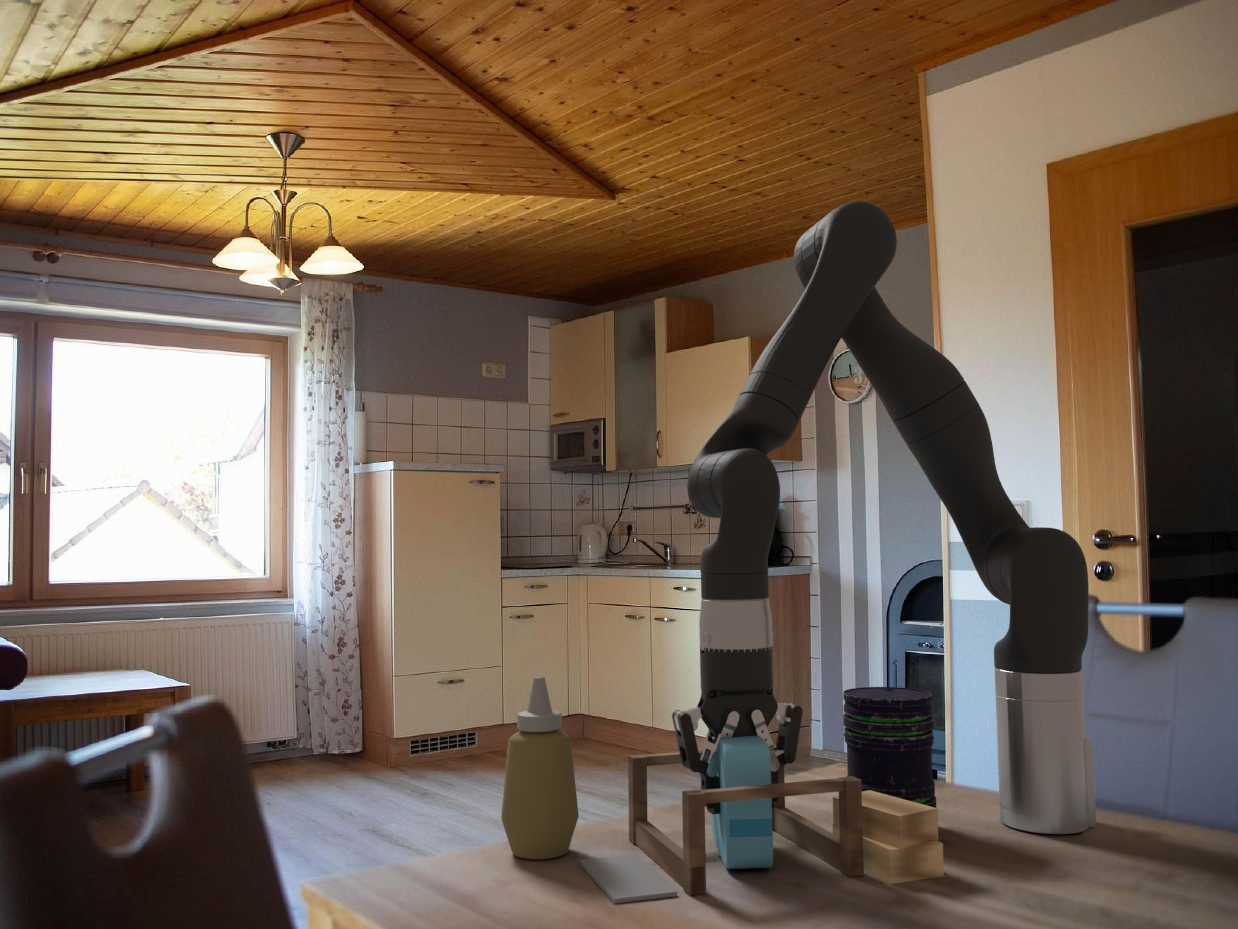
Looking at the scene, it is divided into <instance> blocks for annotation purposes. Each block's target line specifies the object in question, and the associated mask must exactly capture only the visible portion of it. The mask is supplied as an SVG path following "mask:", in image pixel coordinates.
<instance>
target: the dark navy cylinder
mask: <svg viewBox="0 0 1238 929" xmlns="http://www.w3.org/2000/svg"><path fill="white" fill-rule="evenodd" d="M842 696H843V700H844V704H843V713H844V714H843V715H842V720H843V721H842V725H843V726H844V733H843V736H844V742H845V743H846V758H847V759H846V760H847V762H846V763H847V766H846V767H847V776H846V777H851V776H853V777H856V778H858V779H860V780H861V791H868V790H871V791H875V792H878V793H882V794H886V795H890V796H893V797H897V798H901V799H904V800H908V801H912V802H915V803H919V804H923V805H927V806H930V807H934V808H937V797H936V786H935V785H936V784H935V780H934V778H933V763H932V760H933V758H932V747H933V745H934V739H935V737H934V731H933V729H934V727H935V726H934V717H933V707H932V704H931V703H932V702H933V697H932V696H933V695H932V692H930V691H927V690H923V689H917V688H909V687H897V686H895V687H894V686H867V687H866V686H865V687H855V688H854V687H853V688H848V689H845V690H844V691H843V694H842ZM937 809H938V808H937Z"/></svg>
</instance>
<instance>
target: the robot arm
mask: <svg viewBox="0 0 1238 929" xmlns="http://www.w3.org/2000/svg"><path fill="white" fill-rule="evenodd" d="M894 225H895V224H893V222H892V220H891V218H890V217H889V215H888V214H887V212H885V210H883V209H882V208H880V207H879V206H877V205H876V204H873V203H871V202H868V201H859V200H858V201H857V200H856V201H850V202H847V203H844V204H841V205H839V206H837V207H836V208H834V209H833V210H831V211H829V213H828V214H826V215H825V216H824V217H823V218H821V219H819V221H817V222H816V223H815V224H813V226H811V227H810V228H808V230H806V231H805V232H804V233H803V234H802V235H801V236H800V238H798V240H797V241H796V244H795V246H794V251H793V264H794V269H795V272H796V275H797V277H798V278H799V281H800V284H802V286H803V288H804V289H805V290H804V291H803V293H802V294H801V297H800V298H799V300H798V301H797V303H796V304H795V306H793V309H792V311H791V312H790V314H789V315H788V316H787V318H786V319H785V320H784V321H783V323H782V325H781V326H780V328H778V329H777V331H776V333H775V334H774V336H773V337H772V338H771V339H770V341H769V342H768V343H767V345H766V346H765V348H764V349H763V351H762V353H761V354H760V355H759V357H758V359H757V361H756V362H755V363H754V366H753V367H752V369H751V371H750V374H749V375H748V377H747V379H746V381H745V383H744V385H743V386H742V389H741V391H740V393H739V394H738V397H737V399H736V401H735V404H734V406H733V408H732V410H731V411H730V413H728V415H727V416H726V417H725V419H723V420H722V422H721V423H720V424H719V425H718V426H717V428H716V429H715V431H714V432H713V433H712V435H710V437H709V438H708V440H707V441H706V442H705V443H704V445H703V446H702V448H701V449H700V451H699V452H698V453H697V455H696V457H695V459H694V460H693V462H692V465H691V467H690V470H689V473H688V477H687V482H686V484H687V485H686V486H687V488H686V489H687V496H688V499H689V502H690V504H691V505H692V507H693V508H694V510H696V511H697V512H698V513H699V514H701V515H702V516H705V517H707V518H712V519H720V520H719V527H718V531H717V532H718V533H717V537H716V539H715V540H714V541H713V542H710V543H709V544H707V545H706V546H705V547H704V548H703V550H702V552H701V555H700V556H701V557H700V591H701V594H700V595H701V601H700V612H699V624H698V626H699V668H700V669H699V671H700V693H701V694H700V698H699V701H698V703H697V706H696V707H693V708H690V709H687V710H679V709H676V710H674V711H673V712H672V714H671V718H672V724H673V727H674V732H675V737H676V741H677V742H676V743H677V747H678V750H679V751H678V752H680V756H681V761H682V763H681V764H682V766H683V767H684V768H686V769H689V770H690V771H691V772H693V773H699V776H700V790H708V789H720V777H718V776H717V773H718V770H719V767H720V763H719V755H720V740H722V739H731V738H732V737H744V736H758V737H762V738H763V740H764V741H765V742H766V743H767V744H768V747H769V751H770V760H771V784H778V771H779V769H780V767H782V766H784V767H785V765H787V764H788V765H791V764H793V763H794V762H795V761H796V756H797V751H798V743H799V738H800V737H799V736H800V732H801V731H800V730H801V724H802V718H803V711H804V710H803V708H802V706H800V705H798V704H794V703H793V702H792V703H791V702H789V701H787V702H784V703H783V702H782V703H780V702H778V700H777V699H776V697H775V695H774V686H775V685H774V684H775V681H774V677H775V676H774V645H773V644H774V643H773V640H774V631H773V619H772V618H773V617H772V612H771V607H770V606H771V605H770V599H769V597H770V595H769V594H770V592H769V590H770V589H769V565H768V563H769V562H768V561H769V560H768V558H769V554H770V550H771V546H772V543H773V538H774V533H775V527H776V525H777V524H776V523H777V518H778V512H779V508H780V499H781V485H780V479H779V474H778V472H777V469H776V467H775V465H774V463H773V461H772V460H771V459H770V457H768V455H769V453H771V452H774V451H775V450H776V449H779V448H781V447H783V446H785V445H786V444H787V443H788V442H790V439H791V438H792V436H793V435H794V433H795V431H796V429H797V427H798V425H799V423H800V420H801V419H802V417H803V414H804V413H805V410H806V408H807V406H808V404H809V402H810V400H811V398H812V395H813V394H814V391H815V389H816V387H817V384H818V383H819V381H820V379H821V376H822V374H823V373H824V370H825V369H826V366H827V365H828V363H829V361H830V359H831V358H832V356H833V353H834V352H835V350H836V348H837V346H838V344H839V343H840V342H841V339H842V340H843V343H845V345H846V347H847V348H848V350H849V351H850V352H851V355H852V356H853V357H854V359H855V361H856V363H857V364H858V366H859V368H860V369H861V370H862V371H863V374H864V375H865V377H866V379H867V380H868V381H869V383H870V385H871V386H872V388H873V390H874V391H875V393H876V395H877V396H878V397H879V399H880V402H881V403H882V404H883V406H884V408H885V410H886V412H887V415H888V416H889V417H890V419H891V420H892V422H893V425H894V426H895V427H896V429H897V432H898V433H899V434H900V436H901V437H902V439H903V441H904V443H905V445H906V446H907V448H908V449H909V451H910V453H912V455H913V456H914V458H915V460H916V461H917V463H918V465H919V467H920V468H921V469H922V471H923V474H924V475H925V476H926V478H927V479H928V482H929V483H930V485H931V487H932V488H933V490H934V491H935V492H936V493H935V494H936V495H937V496H938V497H939V499H940V501H941V502H942V504H943V505H944V507H945V509H946V511H947V512H948V514H949V516H950V517H951V519H952V521H953V523H954V525H955V527H956V530H957V531H958V534H959V536H960V539H961V540H962V542H963V545H964V547H965V548H966V550H967V553H968V556H969V558H970V559H971V563H972V565H973V566H974V568H975V571H976V573H977V575H978V576H979V579H980V580H981V582H982V584H983V586H984V587H985V589H986V590H987V591H988V592H989V593H990V594H991V595H992V596H993V597H995V598H996V599H997V600H999V601H1000V602H1002V603H1003V604H1005V605H1009V624H1008V630H1007V632H1006V634H1005V635H1004V637H1003V638H1001V639H1000V640H998V641H996V643H995V645H994V648H993V664H994V665H993V666H994V685H995V686H994V688H995V689H994V690H995V710H996V712H995V713H996V714H995V717H996V739H997V746H996V747H997V770H998V793H999V794H998V796H999V798H998V799H999V820H1000V821H1001V823H1002V824H1004V825H1006V826H1008V827H1010V828H1013V829H1017V830H1020V831H1025V832H1030V833H1037V834H1045V835H1046V834H1049V835H1070V834H1077V833H1081V832H1085V831H1087V830H1088V829H1089V828H1092V827H1097V810H1096V809H1097V808H1096V788H1095V784H1096V783H1095V769H1094V768H1095V767H1094V766H1095V765H1094V762H1095V761H1094V746H1093V745H1094V744H1093V741H1092V739H1091V738H1090V737H1087V736H1085V734H1086V733H1085V730H1086V729H1085V715H1084V714H1085V711H1084V710H1085V709H1084V708H1085V707H1084V691H1083V690H1084V689H1083V671H1082V668H1083V667H1082V660H1083V658H1082V657H1083V654H1084V651H1085V649H1086V646H1087V643H1088V639H1089V591H1090V590H1089V572H1088V565H1087V560H1086V557H1085V553H1084V551H1083V549H1082V547H1081V546H1080V544H1079V543H1078V541H1077V540H1076V539H1075V538H1074V537H1073V536H1072V535H1070V534H1069V533H1067V532H1066V531H1064V530H1061V529H1058V528H1054V527H1038V526H1037V527H1030V526H1029V525H1028V524H1027V523H1026V521H1025V520H1024V518H1023V517H1022V516H1021V514H1020V513H1019V512H1018V510H1017V509H1016V507H1015V505H1014V503H1013V502H1012V501H1011V499H1010V498H1009V496H1008V494H1007V492H1006V490H1005V489H1004V486H1003V484H1002V482H1001V480H1000V477H999V474H998V470H997V466H996V465H997V464H996V461H995V455H994V454H995V453H994V447H993V442H992V441H993V440H992V436H991V431H990V428H989V423H988V420H987V418H986V415H985V413H984V411H983V409H982V407H981V406H980V404H979V402H978V400H977V399H976V397H975V395H974V394H973V392H972V390H971V388H970V387H969V385H968V383H967V382H966V380H965V378H964V377H963V375H962V374H961V372H960V371H959V369H958V368H957V367H956V366H955V365H954V363H953V362H952V361H950V359H948V358H947V357H946V356H945V355H944V354H943V353H941V352H940V351H938V350H937V349H935V348H934V346H932V345H931V344H929V343H928V342H926V341H924V340H923V339H922V338H920V337H919V336H918V335H916V334H914V333H913V332H912V331H911V330H910V329H909V328H907V327H906V326H904V325H903V324H902V323H901V322H900V321H899V320H898V319H897V317H895V316H894V314H893V313H892V312H891V310H890V308H889V307H888V305H887V304H886V303H885V301H884V300H883V299H884V298H882V296H881V295H880V292H879V291H878V290H877V287H876V285H877V284H878V282H879V281H880V280H881V279H882V277H883V276H884V274H885V273H886V271H887V270H888V268H890V266H891V264H892V262H893V261H894V258H895V256H896V250H897V246H898V244H897V243H898V238H897V231H896V228H895V226H894ZM775 715H776V721H777V722H778V731H777V737H776V743H774V742H773V739H772V737H771V735H770V732H769V729H768V727H769V725H770V723H771V722H772V720H773V718H774V717H775ZM700 719H701V720H702V722H703V723H704V724H705V725H706V727H707V733H706V736H705V739H704V741H703V744H702V746H703V749H702V751H703V753H702V756H701V759H700V756H699V752H698V751H699V748H698V743H697V739H696V734H695V731H697V729H698V727H699V720H700ZM716 739H717V742H716ZM774 745H776V748H775V751H774ZM777 800H778V797H774V798H772V808H774V802H777ZM705 809H706V810H707V812H709V813H710V814H711V815H712V814H720V802H718V803H707V804H705Z"/></svg>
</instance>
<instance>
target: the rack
mask: <svg viewBox="0 0 1238 929" xmlns="http://www.w3.org/2000/svg"><path fill="white" fill-rule="evenodd" d="M775 748H776V744H774V751H775ZM698 752H699V756H700V759H701V756H702V753H703V750H698ZM627 763H628V766H627V770H628V771H627V772H628V775H627V776H628V778H627V779H628V780H627V781H628V784H627V787H628V840H629V842H630V843H631V844H633V845H636V846H637V847H638V848H639V849H641V851H642V852H643V853H644V854H646V855H647V856H648V857H649V858H650V859H651V860H652V861H653V862H654V863H656V865H657V866H659V867H660V868H661V869H662V870H663V871H664V872H665V873H666V874H668V875H669V876H670V877H671V878H672V879H673V881H675V882H676V883H677V884H679V886H681V887H682V888H683V891H684V892H685V893H686V894H687V895H688V896H689V897H691V896H703V895H707V868H706V866H707V865H706V864H707V863H706V862H707V861H706V859H707V858H706V856H707V854H706V851H707V850H706V807H705V804H707V803H718V802H729V801H740V800H751V799H762V798H774V797H778V800H777V802H774V808H772V830H773V831H775V832H776V833H778V834H780V835H782V836H783V837H785V838H786V839H788V840H789V841H791V842H793V843H794V844H795V845H798V846H799V847H801V848H803V849H804V850H806V851H807V852H809V853H810V854H812V855H814V856H816V857H817V858H818V859H821V860H822V861H824V862H826V863H827V864H829V865H830V866H832V867H834V868H835V869H837V870H839V871H840V873H841V874H843V875H844V876H846V877H847V878H854V877H864V876H865V875H864V874H865V870H864V862H863V826H862V791H861V780H860V779H858V778H856V777H853V776H851V777H847V776H842V777H838V778H829V779H828V778H827V779H815V780H804V781H794V782H791V781H790V782H785V765H784V766H782V767H780V769H779V771H778V784H767V785H755V786H743V787H732V788H720V789H708V790H701V789H700V790H699V789H690V790H682V791H681V792H682V794H681V796H682V797H681V802H682V804H681V805H682V806H681V807H682V808H681V809H682V847H681V846H680V845H678V844H677V843H676V842H675V841H673V839H671V838H669V836H667V835H666V834H665V833H664V832H663V831H661V830H660V829H658V827H656V826H655V825H653V823H651V822H650V821H649V820H648V767H652V766H666V765H677V764H682V761H681V756H680V751H678V752H677V751H676V752H666V753H665V752H663V753H651V754H650V753H649V754H641V753H640V754H629V755H628V756H627ZM837 792H838V796H839V826H840V837H838V836H837V835H835V834H833V832H831V831H829V830H828V829H825V828H824V827H821V826H820V825H818V824H816V823H814V822H813V821H811V820H809V819H807V818H805V817H804V816H802V815H800V814H799V813H797V812H795V811H792V810H791V809H789V808H788V807H786V797H792V796H793V797H794V796H805V795H806V796H807V795H817V794H827V793H837Z"/></svg>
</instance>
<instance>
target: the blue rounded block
mask: <svg viewBox="0 0 1238 929" xmlns="http://www.w3.org/2000/svg"><path fill="white" fill-rule="evenodd" d="M716 742H717V739H716ZM719 763H720V767H719V770H718V773H717V776H718V777H720V788H732V787H743V786H755V785H767V784H771V760H770V751H769V747H768V744H767V743H766V742H765V741H764V740H763V738H762V737H758V736H744V737H732V738H731V739H722V740H720V755H719ZM711 820H712V821H711V823H712V825H711V826H712V836H713V841H714V843H715V845H716V848H717V851H718V852H719V855H720V857H721V860H722V861H723V865H724V867H725V868H726V869H727V870H733V869H734V870H735V869H741V870H742V869H767V868H768V869H769V868H771V867H772V866H773V863H774V840H773V839H774V838H773V837H774V836H773V833H774V832H773V831H774V830H772V798H762V799H751V800H740V801H729V802H720V814H711Z"/></svg>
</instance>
